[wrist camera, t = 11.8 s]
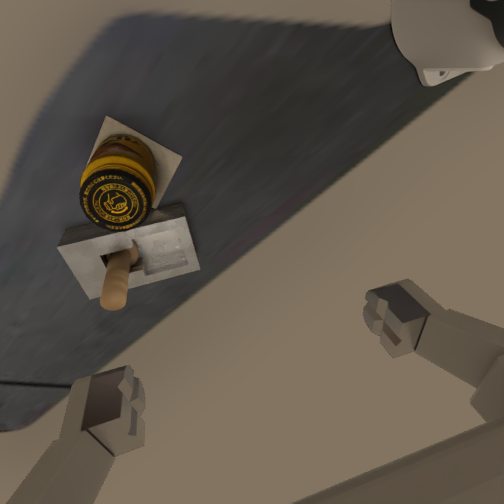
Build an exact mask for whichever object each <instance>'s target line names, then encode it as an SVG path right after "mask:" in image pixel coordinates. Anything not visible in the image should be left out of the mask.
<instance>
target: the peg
mask: <svg viewBox="0 0 504 504" xmlns="http://www.w3.org/2000/svg"><path fill="white" fill-rule="evenodd" d="M132 241H133V247H132V248H128V249H124V250H120V251H116V252H112V253H108V254H104V255H103V256H104V258H105V260H106V262H107V264H108V265H107V270H106V275H105V279H104V284H103V289H102V293H101V298H100V304H101V306H102V307H103V308H105V309H107V310H119V309H121V308H122V307H124V306H125V304H126V298H127V288H128V279H129V270H130V266H132V265H133V264H134V263H135V262H136V261H137V258H138V245H137V243H136V242H135V241H134V240H133V239H132Z"/></svg>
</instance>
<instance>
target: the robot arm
mask: <svg viewBox="0 0 504 504" xmlns="http://www.w3.org/2000/svg"><path fill="white" fill-rule="evenodd" d="M391 23H392V30H393V35H394V38H395V41H396V44H397V46H398V48H399V50H400V51H401V53H402V54H403V56H404V57H405V58H406V59H407V60H409V61H410V62H411V63H412V64H413V65H414V66H415V68H416V70H417V73H418V76H419V79H420V81H421V83H422V85H423V86H435V85H437V84H440V83H442V82H444V81H446V80H449V79H451V78H453V77H456V76H458V75H460V74H463V73H465V72H467V71H487V70H491V69H492V68H493V66H494V65H498V64H500V63H503V62H504V0H391ZM440 71H441V72H440ZM439 73H440V74H439ZM365 299H366V300H367V301H368V303H367V304H366V305H365V306H364V308H363V316H364V320H365V323H366V325H367V326H368V328H369V329H370V330H371V332H372V333H374V334H376V335H378V336H380V343H381V345H382V346H383V347H384V348H385V350H386V351H387V352H388V353H389V355H391V357H392V358H396V357H399V356H402V355H405V354H408V353H411V352H414V351H415V353H416V354H418V355H420V356H422V357H423V358H425V359H427V360H428V361H430V362H432V363H434V364H435V365H437V366H439V367H441V368H442V369H444V370H446V371H447V372H450V373H451V374H453V375H454V376H456V377H458V378H460V379H461V380H463V381H465V382H467V383H468V384H470V385H472V386H473V387H475V388H477V389H476V391H475V392H474V394H473V395H472V397H471V398H470V404H471V405H472V406H473V408H474V409H475V410H476V411H477V412H478V413H479V414H480V415H481V416H482V418H483V419H484V420H485V421H486V423H484V424H481V425H479V426H476V427H474V428H472V429H469V430H467V431H464V432H462V433H459V434H457V435H455V436H452V437H450V438H447V439H445V440H443V441H440V442H438V443H435V444H433V445H430V446H428V447H426V448H423V449H421V450H419V451H416V452H414V453H411V454H409V455H406V456H404V457H401V458H399V459H397V460H394V461H392V462H389V463H387V464H385V465H382V466H380V467H377V468H375V469H372V470H370V471H368V472H365V473H363V474H360V475H358V476H356V477H353V478H351V479H348V480H346V481H343V482H341V483H339V484H336V485H334V486H331V487H329V488H327V489H324V490H322V491H319V492H317V493H315V494H312V495H310V496H307V497H305V498H303V499H300V500H298V501H296V502H293V503H290V504H504V328H501V327H498V326H496V325H493V324H490V323H487V322H485V321H482V320H479V319H476V318H473V317H471V316H468V315H465V314H462V313H460V312H457V311H454V310H451V309H448V310H445V309H444V308H443V307H442V306H441V305H439V304H438V303H437V302H436V301H435V300H434V299H432V298H431V297H430V296H429V295H428V294H427V293H425V292H424V291H423V290H422V289H421V288H420V287H419V286H418V285H416V284H415V283H414V282H413V281H411V280H409V279H405V280H401V281H398V282H395V283H390V284H387V285H384V286H381V287H378V288H375V289H372V290H369V291H368V292H367V293H366V296H365ZM133 375H134V370H133V369H132V367H131V366H130V365H126V366H123V367H119V368H116V369H112V370H109V371H105V372H101V373H98V374H94V375H91V376H87V377H84V378H81V379H77V380H76V381H75V382H74V384H73V385H72V388H71V392H70V396H69V400H68V404H67V408H66V412H65V416H64V420H63V424H62V428H61V432H60V436H59V439H58V440H55V441H53V442H52V443H51V445H50V446H49V447H48V449H47V450H46V451H45V452H44V454H43V455H42V456H41V458H40V459H39V460H38V462H37V463H36V464H35V466H34V467H33V468H32V470H31V471H30V472H29V474H28V475H27V476H26V477H25V479H24V480H23V481H22V483H21V484H20V485H19V487H18V488H17V489H16V491H15V492H14V493H13V495H12V496H11V498H10V499H9V500H8V501H7V503H6V504H93V503H94V501H95V499H96V497H97V495H98V493H99V491H100V489H101V487H102V485H103V483H104V481H105V479H106V477H107V475H108V473H109V471H110V468H111V467H112V465H113V463H114V461H115V457H116V456H119V455H121V454H124V453H126V452H129V451H132V450H135V449H137V448H140V447H142V446H144V440H145V439H144V438H145V422H144V421H143V419H142V418H141V414H142V413H143V411H144V409H145V393H144V388H143V385H142V383H141V381H140V379H139V378H136V377H134V376H133Z"/></svg>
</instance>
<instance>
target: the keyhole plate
mask: <svg viewBox="0 0 504 504" xmlns="http://www.w3.org/2000/svg"><path fill="white" fill-rule="evenodd" d="M132 239H133V240H134V241H135V242H136V243H137V245H138V258H137V261H136V262H135V263H134V264H133V265H132V266H130V270H129V279H128V288H127V289H130V288H134V287H137V286H141V285H145V284H148V283H152V282H156V281H159V280H163V279H167V278H171V277H174V276H178V275H182V274H185V273H189V272H193V271H196V270H200V265H199V261H198V257H197V253H196V249H195V246H194V242H193V239H192V235H191V232H190V228H189V225H188V221H187V218H186V215H185V211H184V208H183V204H182V203H178V204H174V205H169V206H165V207H161V208H157V209H152V210H151V211H150V214H149V216H148V218H147V219H146V220H145V222H144V223H143V224H141V225H139V226H138V227H137V228H134V229H131V230H129V231H126V232H113V231H109V230H106V229H102V228H100V227H98V226H97V225H96V224H94V223H92V224H87V225H83V226H79V227H74V228H70V229H66V230H65V232H64V234H63V236H62V238H61V240H60V242H59V244H58V246H57V248H58V250H59V252H60V253H61V255H62V256H63V258H64V259H65V261H66V263H67V264H68V266H69V267H70V269H71V270H72V272H73V274H74V275H75V277H76V278H77V280H78V281H79V283H80V285H81V286H82V288H83V289H84V291H85V292H86V294H87V296H88V297H89V299H93V298H97V297H101V293H102V289H103V284H104V279H105V275H106V270H107V265H108V264H107V262H106V260H105V258H104V256H103V255H104V254H108V253H112V252H116V251H120V250H124V249H128V248H132V247H133V241H132Z"/></svg>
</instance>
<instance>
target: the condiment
mask: <svg viewBox="0 0 504 504" xmlns="http://www.w3.org/2000/svg"><path fill="white" fill-rule="evenodd" d="M181 159H182V156H180V155H178V154H176V153H174V152H172V151H171V150H169V149H167V148H165V147H163V146H161V145H159V144H158V143H156V142H154V141H152V140H150V139H149V138H147V137H145V136H143V135H142V134H140V133H138V132H136V131H134V130H132V129H130V128H129V127H127V126H125V125H123V124H121V123H119V122H118V121H116V120H114V119H112V118H110V117H108V116H106V117H105V120H104V122H103V125H102V127H101V130H100V133H99V135H98V138H97V140H96V143H95V145H94V148H93V150H92V153H91V155H90V158H89V160H88V163H87V165H86V168H85V170H84V172H83V174H82V176H81V182H80V187H81V188H80V193H79V194H80V197H79V198H80V205H81V207H82V209H83V211H84V213H85V215H86V217H87V218H88V219H90V220H91V221H92V222H93V223H94V224H96V225H97V226H98V227H100V228H102V229H106V230H109V231H113V232H126V231H129V230H131V229H134V228H137V227H138V226H139V225H141V224H143V223H144V222H145V220H146V219H147V218H148V216H149V214H150V211H151V207H152V208H154V209H156V208H157V206H158V204H159V202H160V200H161V198H162V196H163V194H164V192H165V190H166V188H167V186H168V184H169V183H170V180H171V178H172V177H173V175H174V173H175V171H176V169H177V167H178V165H179V163H180V161H181ZM155 160H157V163H158V164H159V166H158V165H157V163H156V162H155Z"/></svg>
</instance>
